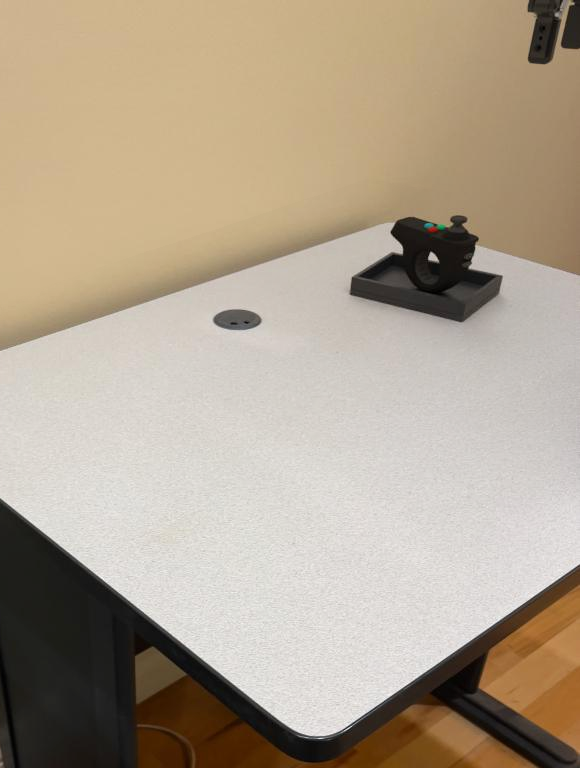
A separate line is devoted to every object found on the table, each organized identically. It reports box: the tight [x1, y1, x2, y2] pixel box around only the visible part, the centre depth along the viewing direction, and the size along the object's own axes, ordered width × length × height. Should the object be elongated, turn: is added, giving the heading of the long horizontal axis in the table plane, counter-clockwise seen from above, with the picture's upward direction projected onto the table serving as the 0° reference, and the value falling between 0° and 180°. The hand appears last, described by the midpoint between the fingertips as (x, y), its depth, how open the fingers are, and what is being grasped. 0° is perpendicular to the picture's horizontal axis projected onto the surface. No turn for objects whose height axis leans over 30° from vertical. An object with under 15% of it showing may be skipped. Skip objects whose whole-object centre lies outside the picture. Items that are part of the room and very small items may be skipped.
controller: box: [390, 214, 480, 293], centre depth 117 cm, size 4×12×10 cm, turn 33°
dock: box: [349, 251, 504, 323], centre depth 120 cm, size 16×11×2 cm
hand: (555, 55), depth 90 cm, fingers open, 8 cm apart
